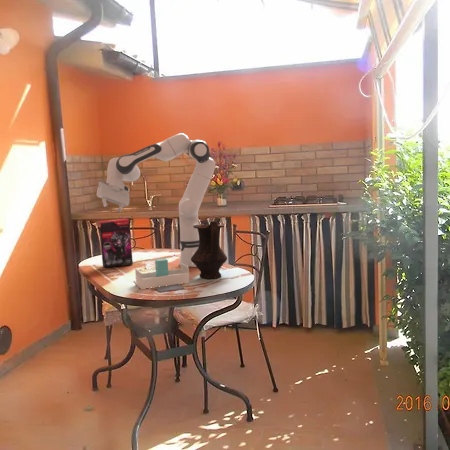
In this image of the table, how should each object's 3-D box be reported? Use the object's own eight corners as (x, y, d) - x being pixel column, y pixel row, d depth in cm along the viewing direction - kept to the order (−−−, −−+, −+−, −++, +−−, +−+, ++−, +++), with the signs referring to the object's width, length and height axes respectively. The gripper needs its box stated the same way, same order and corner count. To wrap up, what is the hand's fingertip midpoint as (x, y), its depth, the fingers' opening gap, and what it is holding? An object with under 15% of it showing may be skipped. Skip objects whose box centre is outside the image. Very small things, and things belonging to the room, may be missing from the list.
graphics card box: (104, 268, 290) (100, 222, 287) (101, 266, 296) (98, 220, 293) (133, 265, 298) (130, 219, 294) (130, 263, 304) (126, 218, 300)
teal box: (166, 281, 252) (164, 258, 251) (169, 283, 248) (167, 260, 246) (156, 283, 250) (155, 259, 249) (159, 285, 246) (157, 261, 244)
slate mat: (178, 284, 245) (178, 283, 245) (184, 288, 237) (184, 287, 236) (154, 288, 240) (154, 287, 240) (159, 292, 232) (159, 291, 232)
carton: (178, 275, 265) (178, 260, 263) (189, 282, 248) (188, 266, 247) (133, 281, 256) (132, 266, 255) (141, 289, 239) (140, 273, 238)
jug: (187, 275, 264) (184, 218, 260) (220, 271, 270) (217, 215, 266) (199, 284, 244) (196, 223, 240) (235, 279, 251) (232, 219, 247)
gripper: (102, 178, 267) (100, 202, 262) (131, 190, 282) (130, 213, 277) (95, 181, 270) (92, 205, 266) (124, 193, 285) (122, 215, 281)
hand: (112, 209), depth 271 cm, fingers open, 8 cm apart
